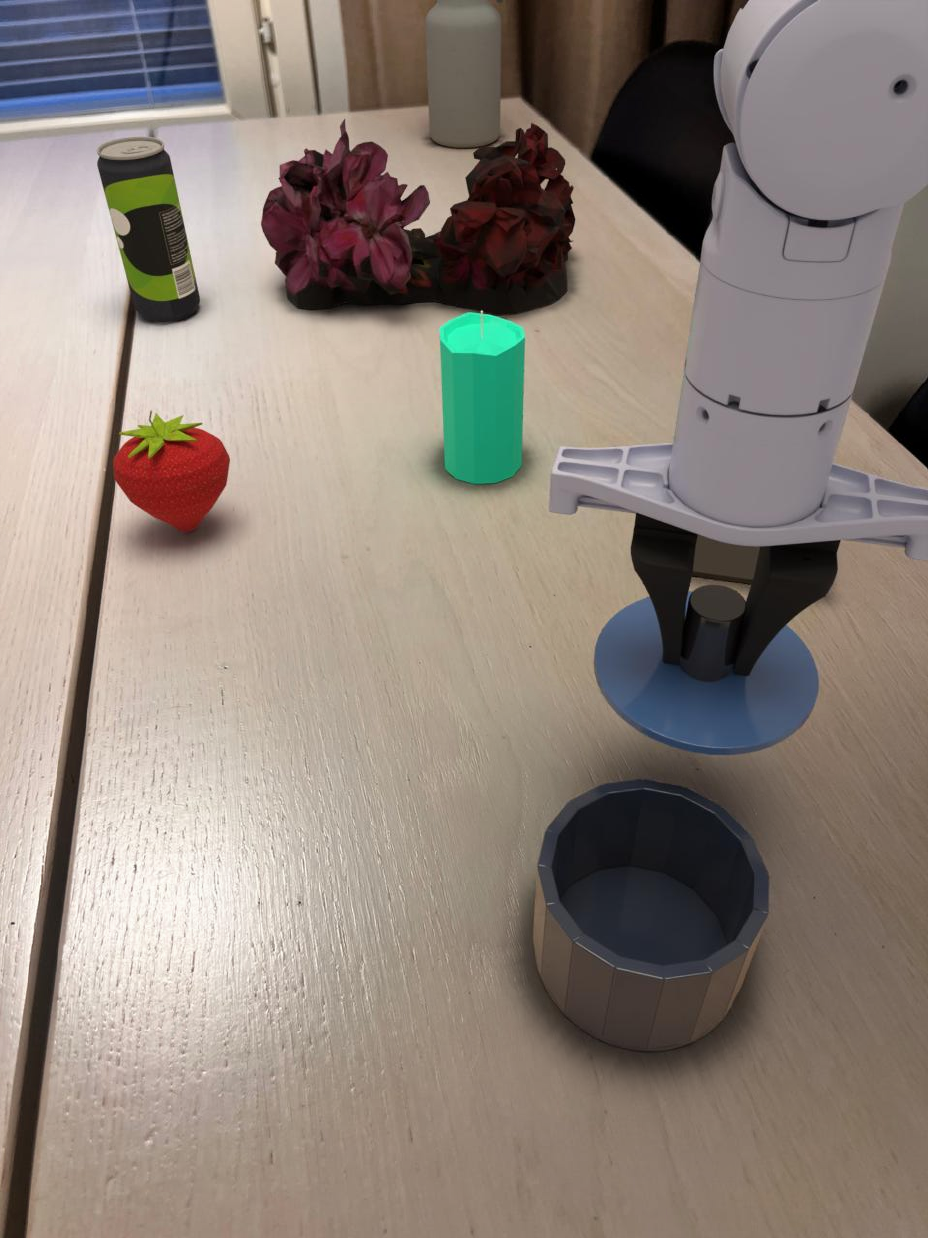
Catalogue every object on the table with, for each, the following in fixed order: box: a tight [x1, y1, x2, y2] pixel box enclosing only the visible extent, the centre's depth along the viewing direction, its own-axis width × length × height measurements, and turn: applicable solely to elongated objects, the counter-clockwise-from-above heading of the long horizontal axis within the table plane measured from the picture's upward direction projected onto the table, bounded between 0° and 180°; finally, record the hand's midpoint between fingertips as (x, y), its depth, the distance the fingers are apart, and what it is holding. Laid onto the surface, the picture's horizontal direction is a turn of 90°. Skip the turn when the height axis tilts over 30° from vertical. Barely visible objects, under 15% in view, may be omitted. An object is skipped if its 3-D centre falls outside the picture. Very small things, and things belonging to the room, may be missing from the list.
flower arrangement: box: [260, 118, 576, 316], centre depth 91 cm, size 31×20×15 cm, turn 99°
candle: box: [439, 311, 526, 485], centre depth 68 cm, size 6×6×12 cm
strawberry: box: [112, 410, 231, 533], centre depth 63 cm, size 6×8×10 cm
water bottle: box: [425, 0, 504, 149], centre depth 122 cm, size 10×10×28 cm
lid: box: [593, 584, 820, 756], centre depth 42 cm, size 10×10×5 cm
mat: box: [692, 534, 760, 585], centre depth 65 cm, size 10×10×1 cm
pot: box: [532, 778, 770, 1052], centre depth 41 cm, size 9×9×6 cm
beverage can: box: [96, 136, 201, 324], centre depth 88 cm, size 6×6×15 cm
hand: (707, 654), depth 42 cm, fingers closed on lid, 2 cm apart
